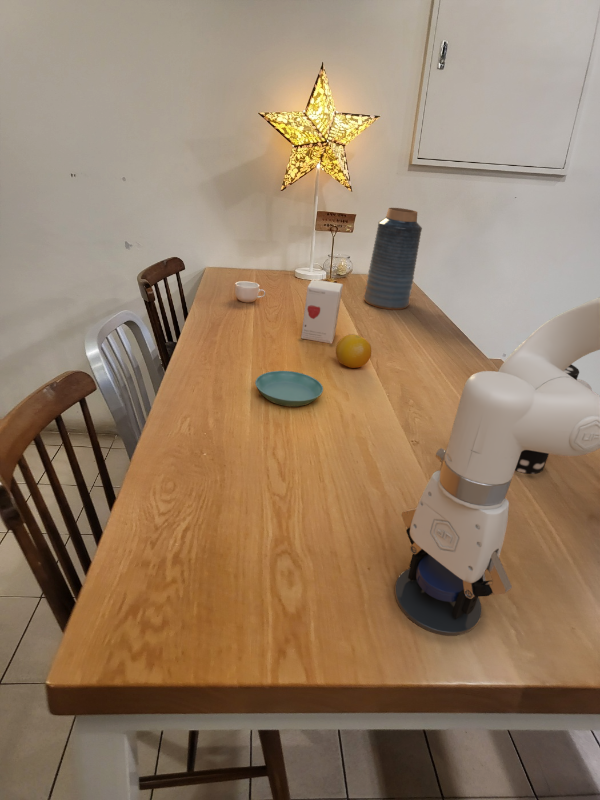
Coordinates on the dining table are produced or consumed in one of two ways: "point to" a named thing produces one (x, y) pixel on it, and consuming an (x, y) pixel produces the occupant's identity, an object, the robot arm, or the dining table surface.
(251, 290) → the teacup
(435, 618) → the coaster
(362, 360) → the fruit
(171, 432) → the dining table surface
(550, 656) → the dining table surface
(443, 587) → the lid
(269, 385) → the saucer
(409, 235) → the vase
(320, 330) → the rectangular carton
